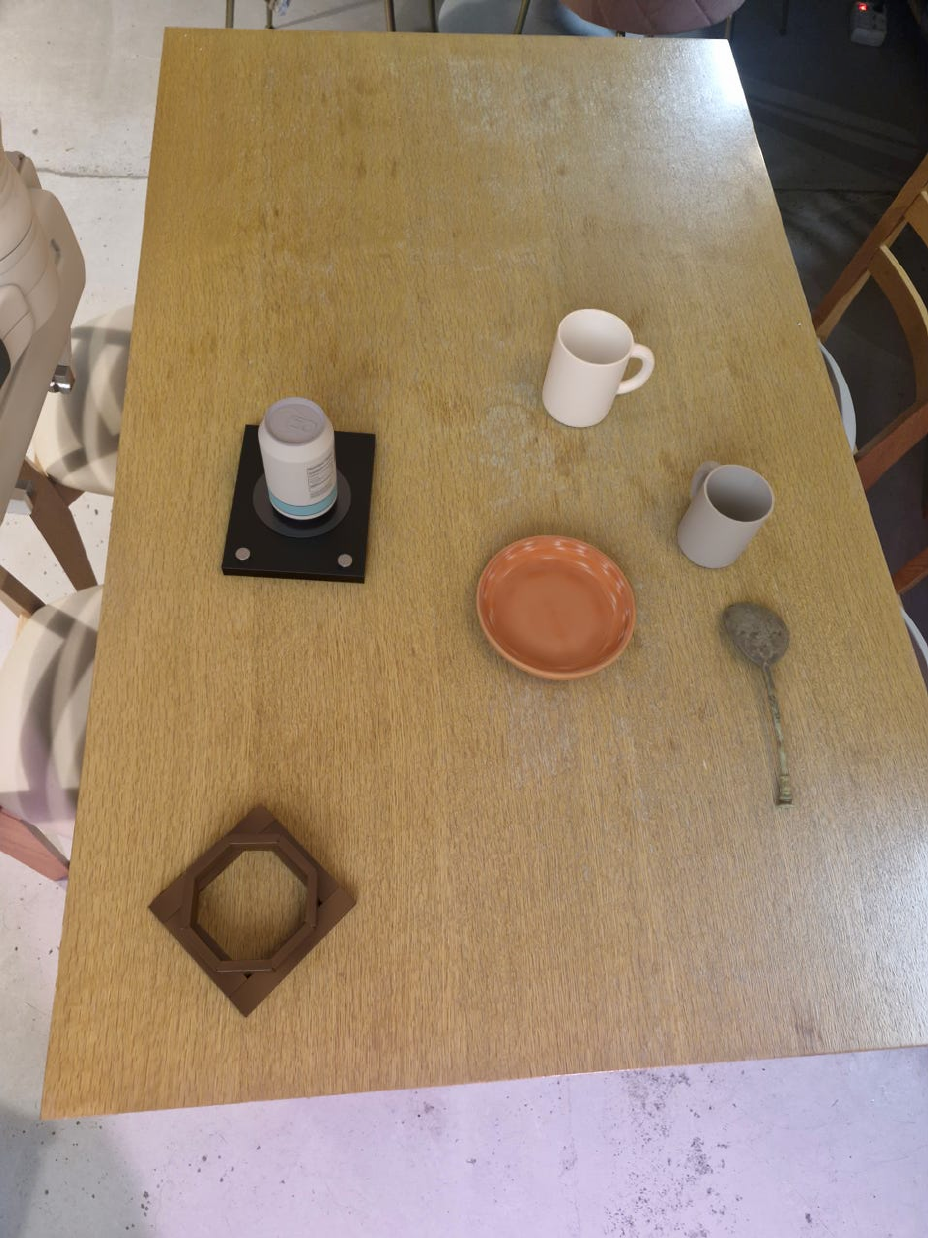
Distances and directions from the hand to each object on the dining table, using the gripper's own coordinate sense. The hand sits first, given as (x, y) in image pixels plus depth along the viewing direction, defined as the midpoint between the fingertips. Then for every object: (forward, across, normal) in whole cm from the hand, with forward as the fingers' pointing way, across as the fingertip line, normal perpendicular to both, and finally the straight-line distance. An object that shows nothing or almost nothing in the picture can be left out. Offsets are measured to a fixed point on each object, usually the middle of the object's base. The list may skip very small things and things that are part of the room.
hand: (42, 442), depth 54 cm
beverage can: (+28, -17, +13) cm, 36 cm away
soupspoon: (+28, +1, +61) cm, 67 cm away
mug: (+29, -36, +44) cm, 64 cm away
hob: (+30, -17, +13) cm, 37 cm away
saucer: (+29, -7, +40) cm, 49 cm away
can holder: (+29, +23, +14) cm, 40 cm away
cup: (+29, -19, +56) cm, 66 cm away
